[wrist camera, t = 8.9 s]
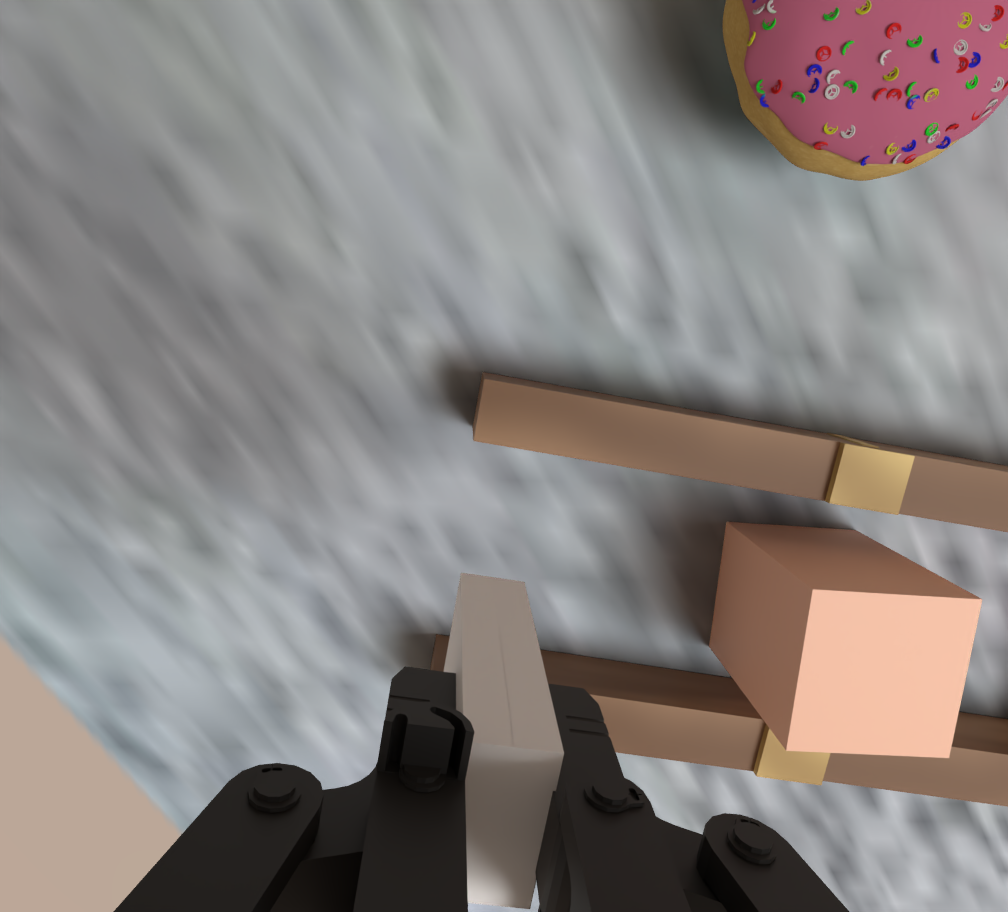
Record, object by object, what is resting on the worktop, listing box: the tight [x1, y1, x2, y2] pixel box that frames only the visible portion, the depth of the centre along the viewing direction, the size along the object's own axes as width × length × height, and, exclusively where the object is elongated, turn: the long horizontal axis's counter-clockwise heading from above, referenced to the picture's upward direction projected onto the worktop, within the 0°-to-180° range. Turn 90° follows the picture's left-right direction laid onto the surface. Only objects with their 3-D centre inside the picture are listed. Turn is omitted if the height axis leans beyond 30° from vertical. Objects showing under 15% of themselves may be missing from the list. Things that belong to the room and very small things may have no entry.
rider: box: [709, 522, 982, 758], centre depth 25 cm, size 5×5×7 cm
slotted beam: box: [430, 372, 1008, 806], centre depth 27 cm, size 12×26×3 cm, turn 80°
